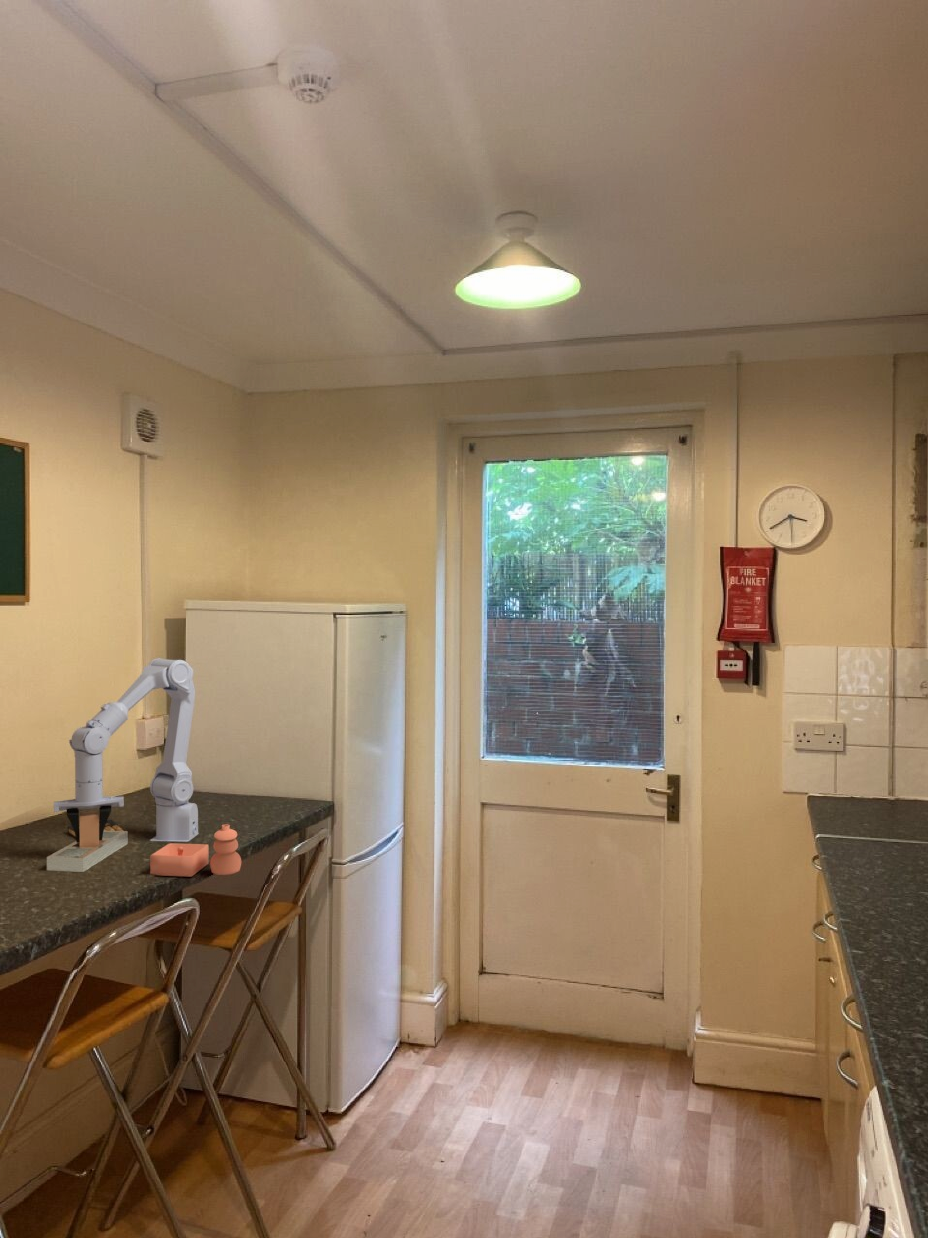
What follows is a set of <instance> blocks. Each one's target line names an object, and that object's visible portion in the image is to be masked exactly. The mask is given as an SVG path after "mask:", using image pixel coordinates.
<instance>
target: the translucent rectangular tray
mask: <svg viewBox="0 0 928 1238" xmlns="http://www.w3.org/2000/svg"><path fill="white" fill-rule="evenodd" d="M128 833H129V832H128V831H127V830H123V831H103V836H102V840H100V841H99V846H97V847H80V842H78V843H76V840H75V841H73V842H72V843H70V844H68V845H66V846H64V847H62V848H60V849H59V850H57V851H56V852H53V853H52V854H50V855H48V856H46V871H47V872H49V871H51V872H68V873H69V872H72V873H73V872H74V873H75V872H76V873H83V872H86V871H87V870H89V869H90V868H92V867H93V866H95V865H96V864H98V863H100V862H101V861H103V860H105V859H106V858H107V857H109V856H110V855H113V854H114V853H116V852H117V851H119V850H120V849H122V848H123V847H125V846H126V845H128V843H129V842H128V841H129V839H128Z"/></svg>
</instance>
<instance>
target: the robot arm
mask: <svg viewBox="0 0 928 1238" xmlns="http://www.w3.org/2000/svg"><path fill="white" fill-rule="evenodd" d="M142 669H143V670H142V672H141V673H140V675H139V676H138V678H137V679H136V680H135V681H133V683H132V684H131V685H130V686H129V687H128V688H127V690H125V692H124V693H123V694H122V696H121V697H119V699H118V700H117V701H110V702H108V703H104V704H103V705H101V706H100V710H99V711H98V712H97V713H96V715H94V716H93V717H92V718H91V719H89V720H87V721H86V723H85V724H86V725H85V726H82V727H81V726H80V727H78V728H77V729H76V730H75V731H73V732H72V736H71V739H69V740H68V743H69V746H70V748H71V749H72V750H73V751H74V767H75V768H74V770H75V771H74V772H75V773H74V774H75V775H74V782H75V783H74V784H75V790H74V791H75V794H74V795H75V796H74V797H75V798H71V799H65V800H59V801H57V800H56V801H53V812H54V813H57V812H58V813H59V812H61V811H66V817H67V818H68V820H69V822H70V825H71V826H72V827H73V829H74V832H75V836H76V838H75V839H76V840H75V841H76V843H78V842H80V832H79V825H80V811H79V810H85V809H86V810H87V809H88V810H89V809H99V810H98V811H99V821H100V823H99V841H100V840H102V836H103V831H104V828H105V825H106V822H107V820H109V817H110V816H111V813H112V807H119V808H120V807H123V808H124V806H125V804H124V803H125V800H124V796H104V794H103V793H104V789H103V787H104V785H103V782H104V779H103V776H104V775H103V770H104V769H103V766H104V765H103V761H104V760H103V759H104V758H103V757H104V756H103V753H104V752H103V751H104V750H106V749H107V747H108V745H109V740H110V738H111V736H113V735H114V733H116V732H117V731H118V730H119V728H121V727H122V725H123V724H125V723H126V722H127V720H128V719H129V712H130V710H131V709H133V708H134V707H135V706H136V705H137V704H138V703H139V702H141V701H142V700H143V699H145V697H146V696H147V695H149V694H150V692H152V691H154V690H156V689H163V690H164V692H165V693H167V694H168V696H169V697H170V706H169V714H168V723H167V730H166V737H165V744H164V751H163V758H162V759H163V760H162V762H161V763H160V764H159V765H158V766H157V767H156V769H155V773H154V776H153V778H152V779H151V782H150V783H149V784H150V786H149V790H150V793H151V796H152V797H154V799H155V800H154V801H155V803H156V805H155V807H156V808H155V809H156V810H155V811H156V812H155V815H156V817H155V819H156V821H155V823H156V824H155V826H156V827H155V828H156V829H155V830H156V831H155V833H156V835H155V836H154V837H152V838H151V839H149V841H150V842H178V843H179V842H180V843H181V842H182V843H183V842H185V843H186V842H190V841H191V840H192V839H194V838H195V837H196V836H198V835H199V834H200V832H199V809H198V804H196V803H195V802H194V803H193V802H189V800H190V799H191V797H193V793H194V784H193V779H192V778H193V771H191V769H190V767H189V766H188V765H187V760H188V759H187V758H188V752H189V743H190V737H191V729H192V721H193V716H194V708H195V701H196V699H195V698H196V688H195V685H194V681H193V677H194V669H193V668H192V667H191V666H190V664H189V663H188V662H187V661H185V660H183V659H166V658H161V657H159V658H154V659H152V660H151V661H150V662H149V664H148V665H146V666H145V667H144V668H142Z"/></svg>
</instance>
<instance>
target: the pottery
mask: <svg viewBox="0 0 928 1238" xmlns="http://www.w3.org/2000/svg"><path fill="white" fill-rule="evenodd" d="M237 836H238V832H237V831H236V830H234V829H232V828H230V824H222V825H221V829H218V830H217V831H216V832H215V833H214V835H213V837H214V838H215V840H214V842H213V845H212V846H213V850H214V851H215V853H214V854H213V855H212V856H211V858H210V857H209V856H210V855H209V854H210V852H209V851H210V849H209V844H207V843H206V844H202V843H170V842H169V843H167V844H165V845H164V846H163V847H161V848H159V849H157V850H156V851H155V852H154V853H152V854H150V856H149V857H150V858H149V859H150V860H149V862H150V864H149V865H150V866H149V868H150V871H149V874H150V875H155V876H168V877H193V876H194V875H196V874H197V873H199V871H201V870H202V869H204V868H205V867H206V866H207V865H209V866H210V867H209V868H210V871H211V873H212V874H214V875H219V876H220V875H222V876H223V875H224V876H225V875H232V874H236V873H238V872H240V870H241V866H242V858H241V855H240V854H239V853H238V852H237V849H238V848H239V843H238V842H239V841H238V840H237V839H236V838H237ZM209 860H210V861H209Z"/></svg>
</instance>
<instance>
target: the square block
mask: <svg viewBox="0 0 928 1238" xmlns="http://www.w3.org/2000/svg"><path fill="white" fill-rule="evenodd" d="M99 821H100V820H99V810H98V811H97V810H96V811H85V812H79V825H80V847H97V846H99Z"/></svg>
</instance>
